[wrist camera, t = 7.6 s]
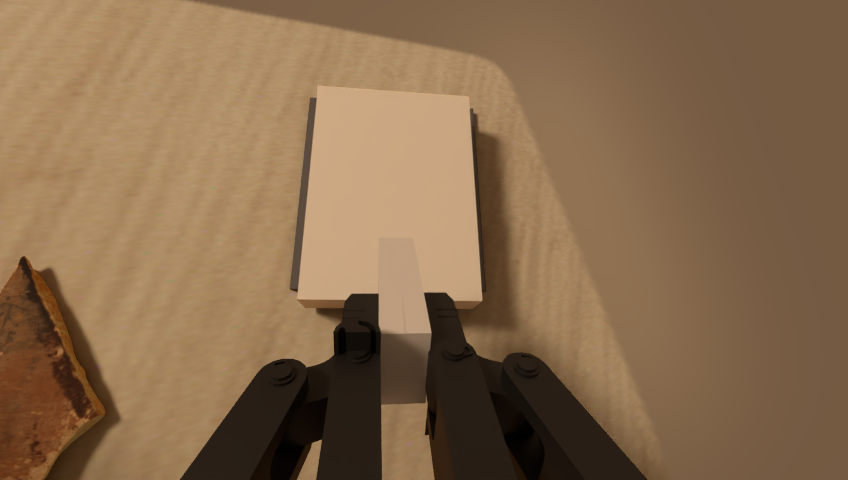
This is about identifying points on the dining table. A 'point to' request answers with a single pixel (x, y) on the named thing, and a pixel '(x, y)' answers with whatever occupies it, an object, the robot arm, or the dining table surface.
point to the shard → (38, 380)
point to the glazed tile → (389, 194)
